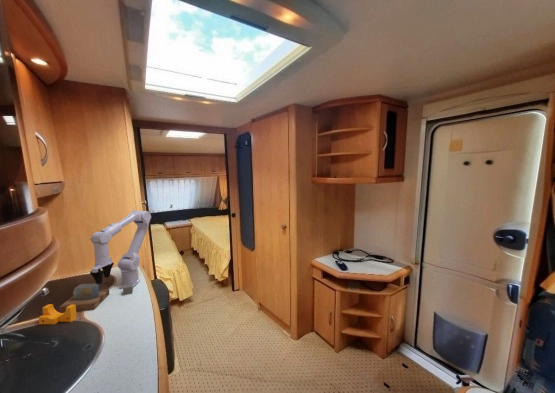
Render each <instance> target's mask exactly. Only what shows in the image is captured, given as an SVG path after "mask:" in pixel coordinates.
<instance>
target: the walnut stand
mask: <svg viewBox="0 0 555 393" xmlns="http://www.w3.org/2000/svg"><path fill="white" fill-rule="evenodd" d="M108 296H110V289H109V288H108V289H107V288H105V289H99V295H98V296H97V297H95V298H94V299H93V300H75V295H72V296H71V297H70V298H69V299H67V300H66V301H65V302H64V303H62V304H61V305H59V306H58V312H59V313H65V311H66V308H67V307H68V306H70V305H76V313H77V312H84V311H95V310H96V309H97V308H98V307H99V306H100V304H102V302H104V301H105V299H107V297H108Z"/></svg>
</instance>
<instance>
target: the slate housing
mask: <svg viewBox="0 0 555 393" xmlns="http://www.w3.org/2000/svg"><path fill="white" fill-rule="evenodd" d="M99 290H100V289H99V284H96V283H80V284H79V285H78V286H76V287H74V288H73V292H72V296H74V295H75V300H93V299H94V298H95V297H97V296H98V295H99Z"/></svg>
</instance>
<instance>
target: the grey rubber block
mask: <svg viewBox="0 0 555 393" xmlns="http://www.w3.org/2000/svg"><path fill="white" fill-rule="evenodd" d="M133 288H134V287H133V284H128V285H124V286H123V288H122V296H128V295H132V294H133V292H134V289H133Z"/></svg>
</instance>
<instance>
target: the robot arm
mask: <svg viewBox="0 0 555 393" xmlns="http://www.w3.org/2000/svg"><path fill="white" fill-rule="evenodd" d="M151 219H152V215H151V213H150V212H149V211H147V210H135V209H134V210H132V211H130V212H129V213H128V215H127V216H125V217H124V218H122V219H121V220H120V221H118V222H110V224H109V225H108V226H106V227H104V228H101V230H100V231H95V232H94V233H93V234H92V235H91V238H90V239H89V240H90V242H92V245H93V253H94V266H93V268H91V271H89V275H91V276H92V277H93V279H94V281H95V284H98V285H102V284H103V277H104V278H110V276H111V271H112V269H113V266H114V265H115V264H114V262H112V258H111V257H110V254H109V249H110V248H109V242H110V241H111V239H112V238H113V237H114V236H116V235H117V234H118V233H120V232H121V231H122V228H124V227H125V226H128V225H129V224H130V223H132V222H133V223H134V224H135V225H136V226H137V228H136V230H135V232H134V235H133V238H132V240H131V242H130V245H129V246H128V247H129V248H128V249H127V252H126V253H124V254H122V256H121V258H120V259H119V261H118V262H117V268H118V269H119V270H120V272H121V285H120V286H119V287H118V288H119V289H123V286H124V285H128V284H133V288H135V287H136V286H137V284H138V283H139V282H137V280H138V279H140V278H139V269H138V268H139V266H140V260H141V256H140V255H139V252H140V249H141V247H142V245H143V241H144V240H145V237H146V234H147V232H148V229H149V226H150V222H151ZM135 285H136V286H135ZM134 286H135V287H134Z"/></svg>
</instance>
